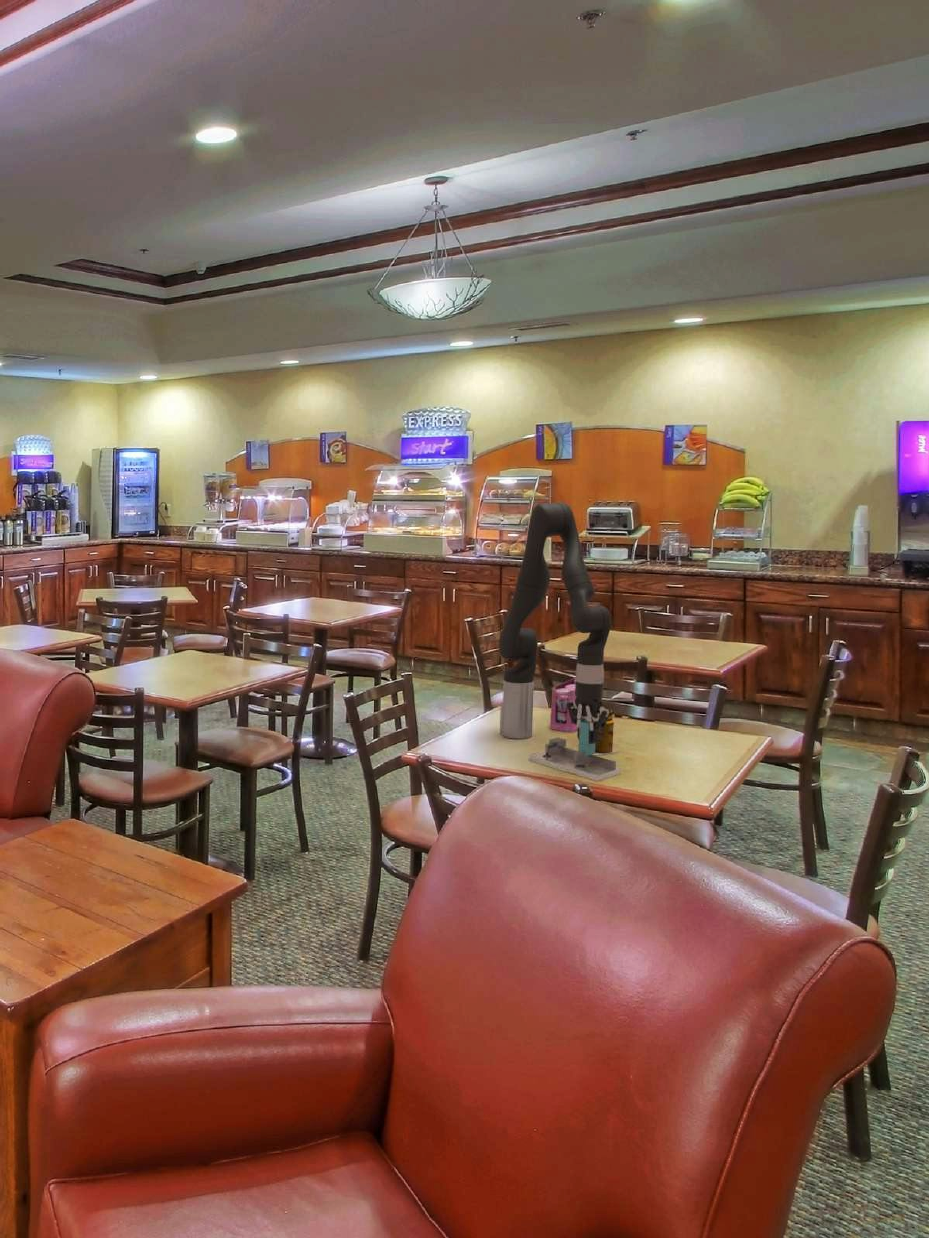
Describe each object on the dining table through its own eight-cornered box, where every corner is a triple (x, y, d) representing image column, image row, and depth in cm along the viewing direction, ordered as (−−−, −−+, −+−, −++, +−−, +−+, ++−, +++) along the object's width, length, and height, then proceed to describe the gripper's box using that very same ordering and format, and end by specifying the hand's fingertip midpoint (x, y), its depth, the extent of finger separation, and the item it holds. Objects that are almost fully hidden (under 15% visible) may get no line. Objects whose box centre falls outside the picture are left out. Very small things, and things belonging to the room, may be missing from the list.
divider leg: (570, 762, 240) (571, 723, 239) (585, 757, 245) (587, 719, 243) (579, 764, 238) (580, 726, 236) (594, 760, 243) (596, 722, 241)
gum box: (570, 734, 276) (572, 691, 275) (547, 730, 280) (549, 688, 278) (598, 718, 297) (600, 678, 295) (576, 714, 301) (578, 675, 299)
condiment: (618, 752, 258) (620, 711, 256) (596, 756, 253) (598, 715, 252) (601, 745, 264) (603, 706, 262) (580, 749, 259) (581, 709, 258)
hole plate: (528, 760, 248) (529, 741, 247) (552, 753, 254) (552, 735, 254) (597, 781, 231) (598, 760, 230) (620, 773, 237) (621, 753, 237)
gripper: (560, 677, 242) (558, 738, 244) (602, 685, 232) (599, 750, 234) (577, 673, 247) (575, 734, 249) (619, 682, 237) (616, 744, 239)
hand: (587, 741), depth 242 cm, fingers closed on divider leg, 3 cm apart
